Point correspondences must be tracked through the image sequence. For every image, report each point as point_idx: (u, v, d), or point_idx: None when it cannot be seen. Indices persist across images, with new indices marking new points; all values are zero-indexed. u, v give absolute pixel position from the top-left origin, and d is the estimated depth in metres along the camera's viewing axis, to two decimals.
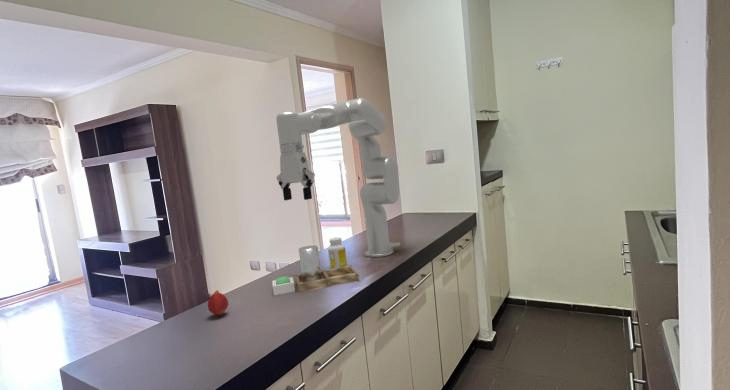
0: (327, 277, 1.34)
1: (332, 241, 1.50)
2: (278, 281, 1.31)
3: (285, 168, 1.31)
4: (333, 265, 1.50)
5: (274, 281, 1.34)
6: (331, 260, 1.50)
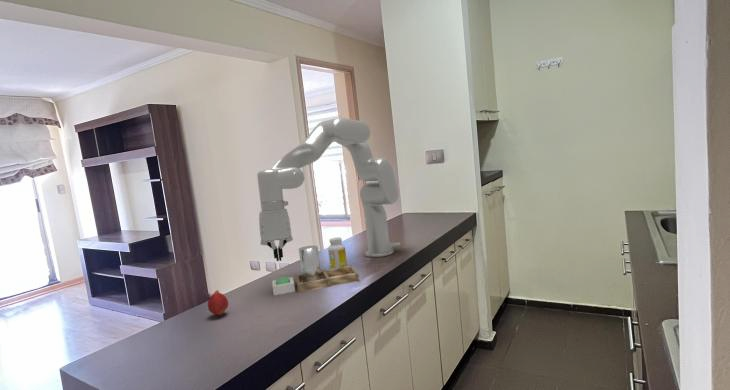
0: (327, 277, 1.34)
1: (332, 241, 1.50)
2: (278, 281, 1.31)
3: (270, 226, 1.28)
4: (333, 265, 1.50)
5: (274, 281, 1.34)
6: (331, 260, 1.50)
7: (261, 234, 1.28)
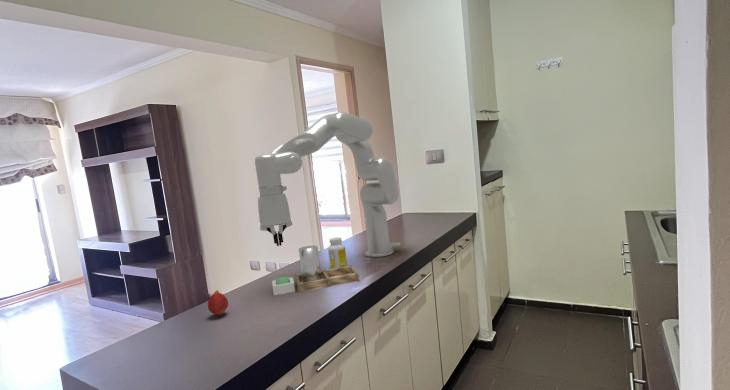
0: (327, 277, 1.34)
1: (332, 241, 1.50)
2: (278, 281, 1.31)
3: (269, 211, 1.28)
4: (333, 265, 1.50)
5: (274, 281, 1.34)
6: (331, 260, 1.50)
7: (260, 219, 1.28)
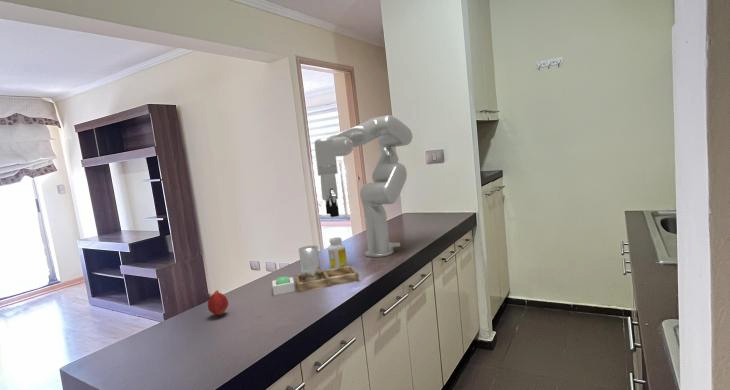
0: (327, 277, 1.34)
1: (332, 241, 1.50)
2: (278, 281, 1.31)
3: None
4: (333, 265, 1.50)
5: (274, 281, 1.34)
6: (331, 260, 1.50)
7: (337, 193, 1.46)
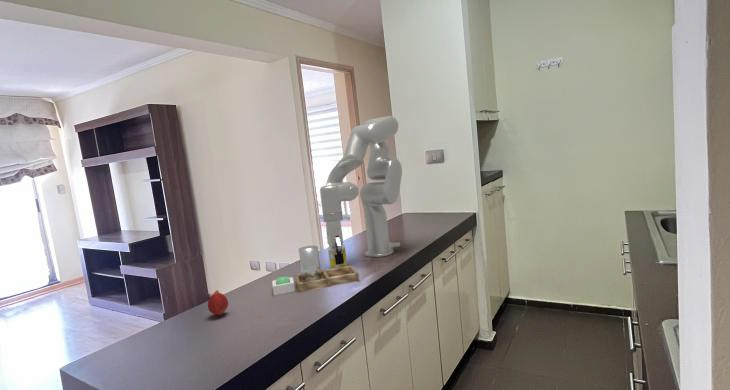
0: (327, 277, 1.34)
1: None
2: (278, 281, 1.31)
3: None
4: (333, 265, 1.50)
5: (274, 281, 1.34)
6: (331, 260, 1.50)
7: (342, 239, 1.48)
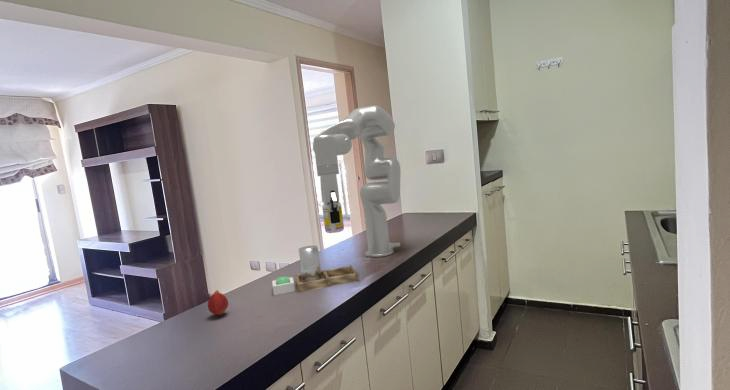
0: (327, 277, 1.34)
1: None
2: (278, 281, 1.31)
3: None
4: (327, 225, 1.34)
5: (274, 281, 1.34)
6: (326, 218, 1.34)
7: (338, 195, 1.32)
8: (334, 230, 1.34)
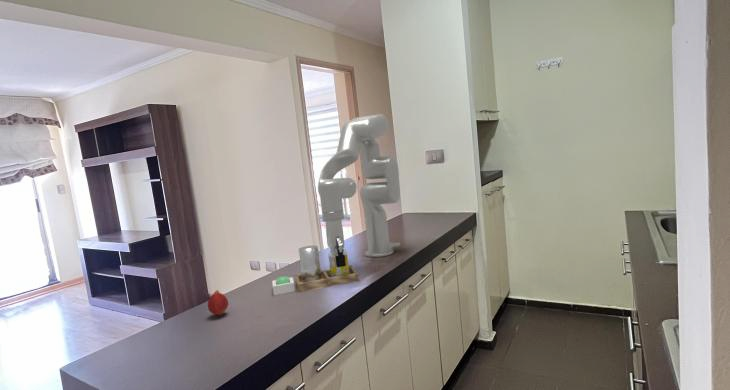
0: (327, 277, 1.34)
1: None
2: (278, 281, 1.31)
3: None
4: (334, 273, 1.36)
5: (274, 281, 1.34)
6: (332, 267, 1.36)
7: (343, 241, 1.34)
8: None
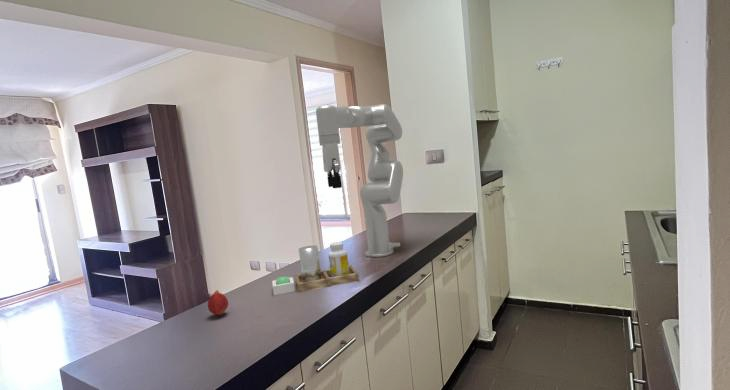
0: (327, 277, 1.34)
1: (333, 246, 1.36)
2: (278, 281, 1.31)
3: None
4: (334, 273, 1.36)
5: (274, 281, 1.34)
6: (332, 267, 1.36)
7: (339, 163, 1.38)
8: None
